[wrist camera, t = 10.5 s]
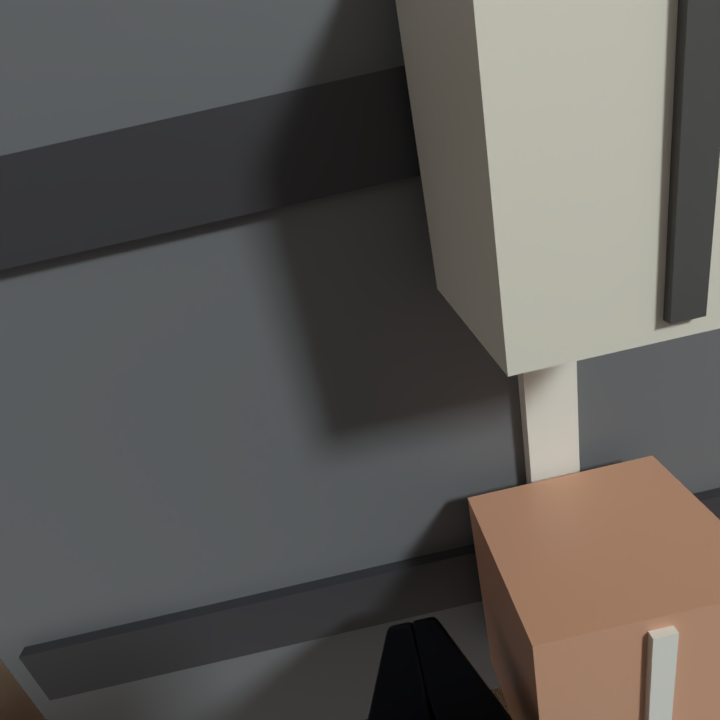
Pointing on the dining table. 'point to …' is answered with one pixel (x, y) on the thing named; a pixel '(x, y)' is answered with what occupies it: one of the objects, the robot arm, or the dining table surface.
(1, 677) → the dining table surface
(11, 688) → the dining table surface
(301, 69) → the console
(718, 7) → the fader ivory
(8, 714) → the dining table surface
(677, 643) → the fader terracotta
